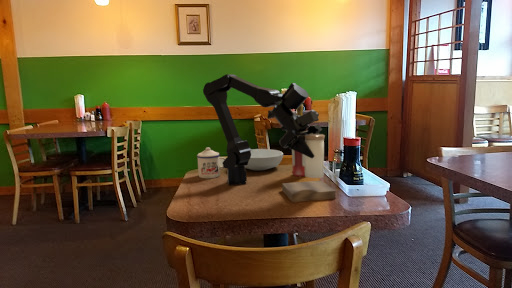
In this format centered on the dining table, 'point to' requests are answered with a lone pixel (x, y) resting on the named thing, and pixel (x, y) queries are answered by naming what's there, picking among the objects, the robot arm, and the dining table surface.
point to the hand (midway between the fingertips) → (318, 155)
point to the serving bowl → (264, 159)
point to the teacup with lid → (209, 164)
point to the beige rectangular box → (308, 191)
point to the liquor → (298, 155)
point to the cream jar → (315, 156)
